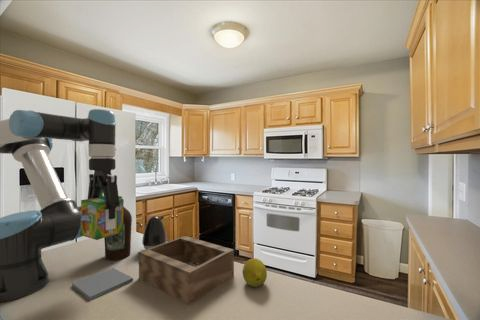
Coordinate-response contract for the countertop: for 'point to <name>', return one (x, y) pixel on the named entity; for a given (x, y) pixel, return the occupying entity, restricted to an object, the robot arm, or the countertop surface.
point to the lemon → (254, 272)
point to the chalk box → (99, 218)
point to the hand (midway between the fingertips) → (102, 226)
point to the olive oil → (120, 240)
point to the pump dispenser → (154, 233)
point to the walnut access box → (186, 267)
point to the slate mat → (101, 283)
